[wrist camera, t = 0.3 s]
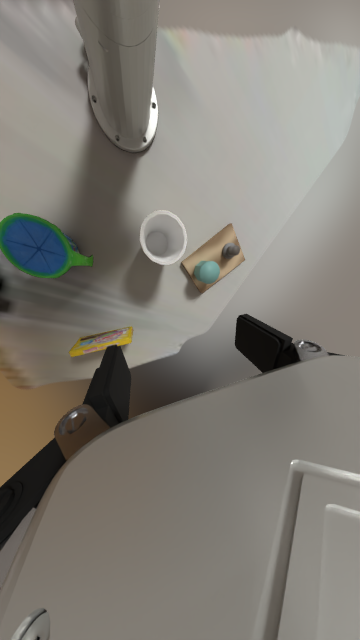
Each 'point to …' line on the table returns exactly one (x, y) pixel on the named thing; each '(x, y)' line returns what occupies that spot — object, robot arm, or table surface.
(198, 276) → the cap
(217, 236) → the board
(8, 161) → the table surface
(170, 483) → the robot arm
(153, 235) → the foam cup
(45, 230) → the snack cup
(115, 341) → the candy box
